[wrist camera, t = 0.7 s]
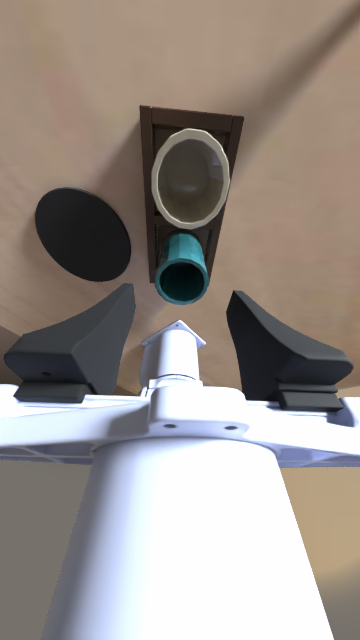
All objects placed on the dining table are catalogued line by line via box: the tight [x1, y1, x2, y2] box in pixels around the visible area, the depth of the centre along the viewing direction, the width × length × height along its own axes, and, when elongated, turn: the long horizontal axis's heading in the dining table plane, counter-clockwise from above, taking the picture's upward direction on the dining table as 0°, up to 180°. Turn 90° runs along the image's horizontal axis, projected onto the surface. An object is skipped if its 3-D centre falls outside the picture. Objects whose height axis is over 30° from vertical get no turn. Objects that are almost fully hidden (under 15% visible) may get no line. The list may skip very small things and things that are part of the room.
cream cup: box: [151, 128, 230, 229], centre depth 13 cm, size 4×4×8 cm
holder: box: [140, 105, 244, 286], centre depth 17 cm, size 7×14×2 cm, turn 176°
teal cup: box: [155, 228, 209, 305], centre depth 17 cm, size 4×4×8 cm
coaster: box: [35, 187, 131, 282], centre depth 20 cm, size 10×10×1 cm
